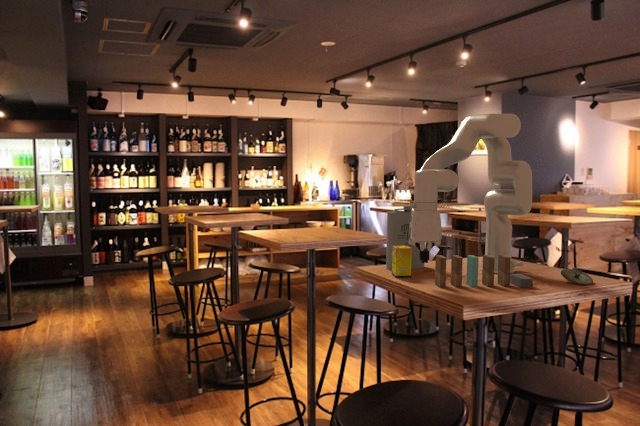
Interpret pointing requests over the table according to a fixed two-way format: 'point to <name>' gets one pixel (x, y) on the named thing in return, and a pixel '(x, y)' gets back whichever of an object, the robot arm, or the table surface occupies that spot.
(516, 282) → the block
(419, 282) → the table surface
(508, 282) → the tile
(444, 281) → the tile
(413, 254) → the flask
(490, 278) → the tile
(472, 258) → the tile
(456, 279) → the tile
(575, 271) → the lid
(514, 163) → the robot arm
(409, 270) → the supplement box
